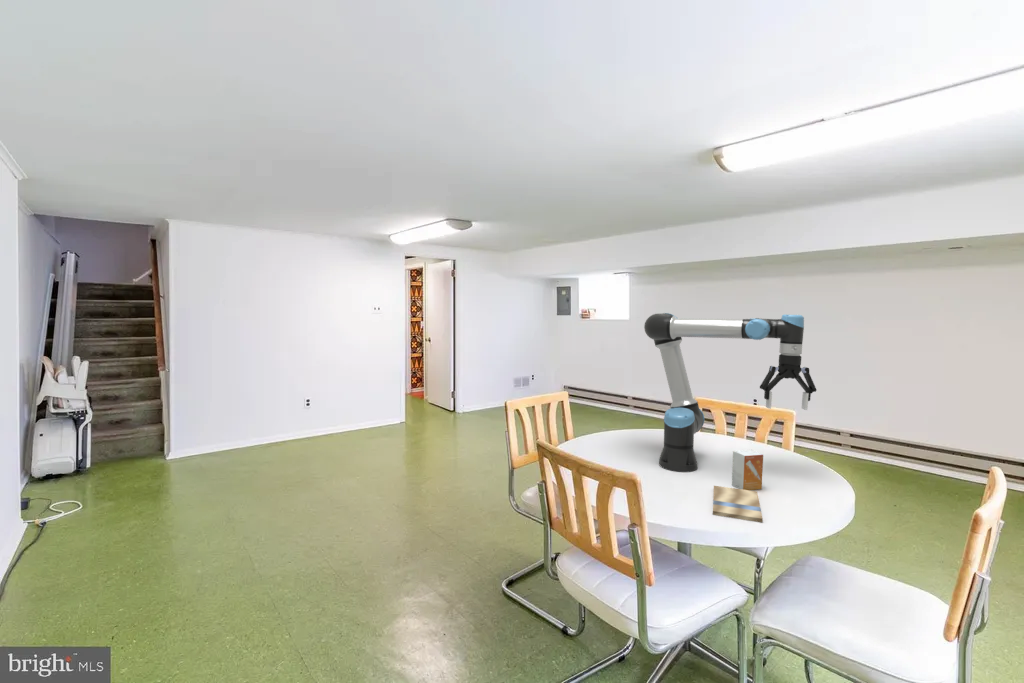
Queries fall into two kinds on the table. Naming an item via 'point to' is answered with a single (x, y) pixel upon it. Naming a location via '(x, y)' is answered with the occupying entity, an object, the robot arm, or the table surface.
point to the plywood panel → (736, 503)
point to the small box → (747, 470)
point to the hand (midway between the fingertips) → (786, 408)
